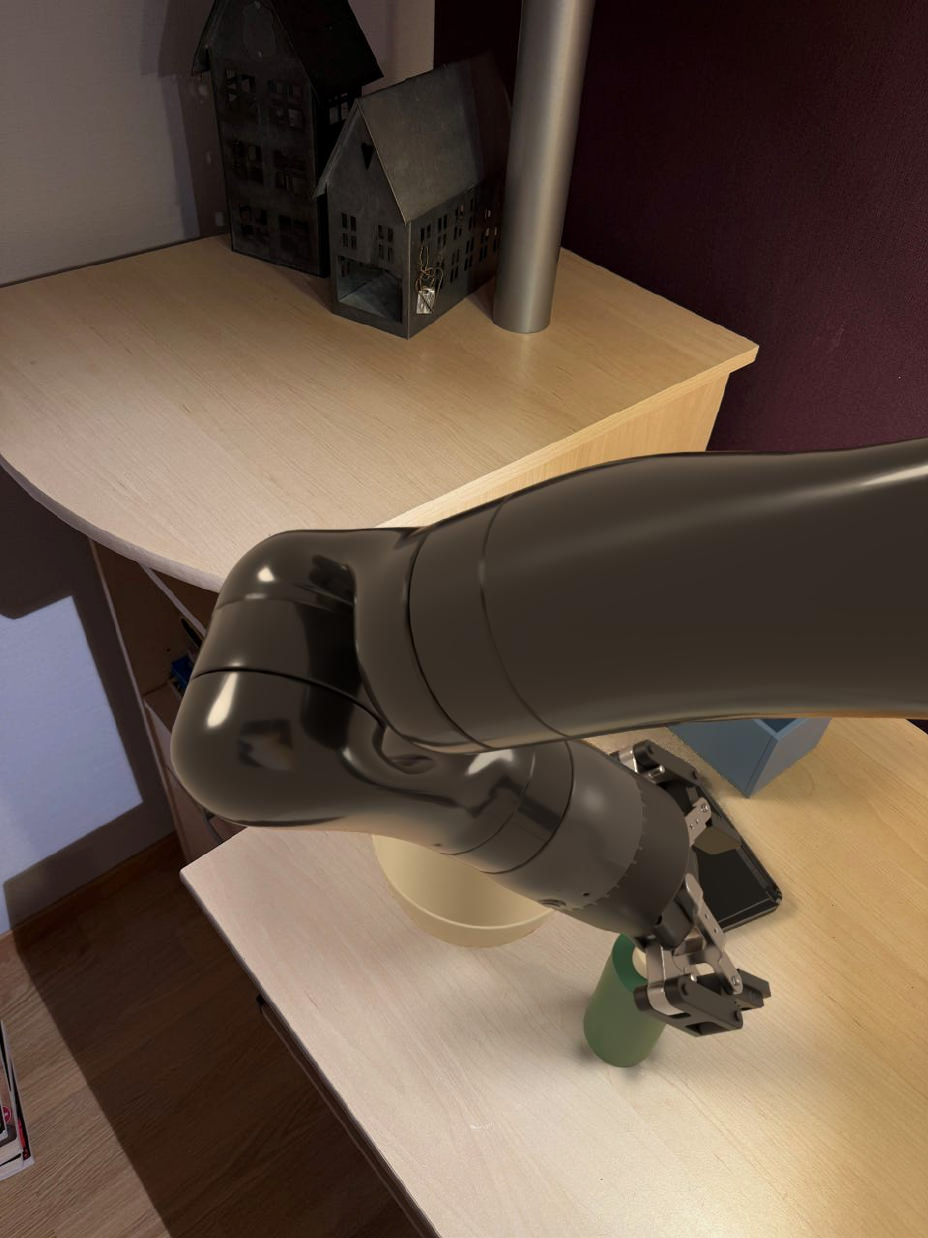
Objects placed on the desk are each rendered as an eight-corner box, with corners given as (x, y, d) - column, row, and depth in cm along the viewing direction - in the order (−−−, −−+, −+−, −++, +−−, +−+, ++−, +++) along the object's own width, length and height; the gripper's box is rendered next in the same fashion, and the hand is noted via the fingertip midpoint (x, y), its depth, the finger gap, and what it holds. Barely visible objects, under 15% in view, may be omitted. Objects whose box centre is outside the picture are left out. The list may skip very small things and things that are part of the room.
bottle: (669, 1037, 66) (715, 959, 57) (619, 1083, 63) (659, 1009, 54) (618, 980, 68) (655, 898, 60) (568, 1021, 66) (599, 942, 57)
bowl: (435, 1033, 65) (444, 972, 58) (336, 859, 74) (332, 788, 67) (610, 928, 71) (637, 862, 64) (499, 780, 81) (511, 708, 74)
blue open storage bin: (816, 747, 86) (849, 688, 80) (748, 799, 81) (778, 740, 75) (710, 662, 93) (734, 602, 87) (642, 705, 88) (662, 645, 82)
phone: (708, 934, 70) (611, 783, 80) (704, 941, 71) (609, 790, 81) (789, 900, 73) (686, 758, 82) (785, 907, 74) (683, 765, 83)
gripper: (660, 967, 36) (834, 1039, 45) (621, 668, 44) (774, 782, 54) (513, 1002, 40) (702, 1061, 49) (504, 721, 48) (666, 818, 58)
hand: (739, 915), depth 52 cm, fingers open, 8 cm apart
